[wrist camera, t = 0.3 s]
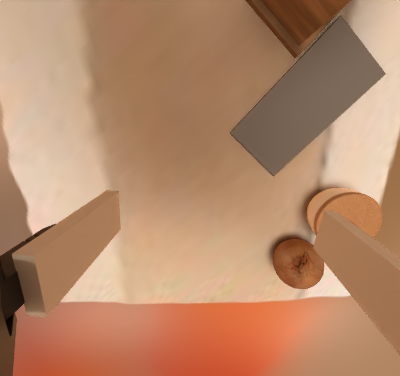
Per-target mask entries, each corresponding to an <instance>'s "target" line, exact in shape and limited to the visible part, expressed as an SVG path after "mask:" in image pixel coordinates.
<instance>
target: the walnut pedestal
mask: <svg viewBox="0 0 400 376" xmlns="http://www.w3.org/2000/svg"><path fill="white" fill-rule="evenodd" d="M246 1H247V2H248V3H249V4H250V6H251V7H252V8H253V9H254V10H255V12H256V13H257V14H258V15H259V16H260V17H261V19H262V20H263V21H264V22H265V23H266V24H267V26H268V27H269V28H270V29H271V30H272V31H273V33H274V34H275V35H276V36H277V37H278V39H279V40H280V41H281V42H282V43H283V44H284V46H285V47H286V48H287V49H288V50H289V51H290V53H291V54H292V55H293V56H294V57H295V58H296V57H297V56H298V55H299V54H300V53H301V52H302V51H303V50H304V49H305V48H306V47H307V46H308V45H309V44H310V42H311V41H312V40H313V39H314V38H315V37H316V36H317V35H318V34H319V33H320V32H321V31H322V30H323V29H324V27H325V26H326V25H327V24H328V23H329V22H330V21H331V20H332V19H333V18H334V17H335V16H336V15H337V14H338V13H339V11H340V10H341V9H342V8H343V7H344V6H345V5H346V4H347V3H349V2H350V1H351V0H246Z"/></svg>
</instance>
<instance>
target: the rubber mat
mask: <svg viewBox="0 0 400 376" xmlns="http://www.w3.org/2000/svg"><path fill="white" fill-rule="evenodd" d="M385 74H386V73H385V72H384V71H383V70H382V68H381V67H380V66H379V64H378V63H377V62H376V60H375V59H374V58H373V56H372V55H371V54H370V53H369V51H368V50H367V49H366V47H365V46H364V45H363V43H362V42H361V41H360V39H359V38H358V37H357V36H356V34H355V33H354V32H353V30H352V29H351V28H350V26H349V25H348V24H347V22H346V21H345V20H344V19H343V17H342V16H340V17H339V18H338V19H337V20H336V21H335V22H334V23H333V24H332V25H331V26H330V27H329V28H328V29H327V30H326V32H325V33H324V34H323V35H322V36H321V37H320V38H319V39H318V40H317V41H316V42H315V43H314V44H313V45H312V46H311V47H310V49H309V50H308V51H307V52H306V53H305V54H304V55H303V56H302V57H301V58H300V59H299V60H298V61H297V62H296V63H295V64H294V65H293V67H292V68H291V69H290V70H289V71H288V72H287V73H286V74H285V75H284V76H283V77H282V78H281V79H280V80H279V81H278V82H277V83H276V85H275V86H274V87H273V88H272V89H271V90H270V91H269V92H268V93H267V94H266V95H265V96H264V97H263V98H262V99H261V100H260V102H259V103H258V104H257V105H256V106H255V107H254V108H253V109H252V110H251V111H250V112H249V113H248V114H247V115H246V116H245V117H244V118H243V120H242V121H241V122H240V123H239V124H238V125H237V126H236V127H235V128H234V129H233V130H232V131H231V132H230V133H231V134H232V135H233V136H234V137H235V138H236V139H237V140H238V141H239V142H240V143H241V144H242V145H243V146H244V147H245V148H246V149H247V150H248V151H249V152H250V153H251V154H252V155H253V156H254V157H255V158H256V159H257V160H258V161H259V162H260V163H261V164H262V165H263V166H264V167H265V168H266V169H267V170H268V171H269V172H270V173H271V174H272V175H273V176H275V175H276V174H277V173H278V172H279V171H280V170H281V169H282V168H283V167H284V166H285V165H287V164H288V163H289V162H290V161H291V160H292V159H293V158H294V157H295V156H296V155H298V154H299V153H300V152H301V151H302V150H303V149H304V148H305V147H306V146H307V145H308V144H310V143H311V142H312V141H313V140H314V139H315V138H316V137H317V136H318V135H319V134H321V133H322V132H323V131H324V130H325V129H326V128H327V127H328V126H329V125H330V124H331V123H333V122H334V121H335V120H336V119H337V118H338V117H339V116H340V115H341V114H342V113H344V112H345V111H346V110H347V109H348V108H349V107H350V106H351V105H352V104H353V103H354V102H356V101H357V100H358V99H359V98H360V97H361V96H362V95H363V94H364V93H365V92H367V91H368V90H369V89H370V88H371V87H372V86H373V85H374V84H375V83H376V82H377V81H379V80H380V79H381V78H382V77H383V76H384V75H385Z"/></svg>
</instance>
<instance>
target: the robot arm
mask: <svg viewBox="0 0 400 376" xmlns="http://www.w3.org/2000/svg"><path fill="white" fill-rule="evenodd" d="M119 230H120V210H119V191H108V190H107V191H105V192H104V193H102V194H101V195H99V196H98V197H96V198H95V199H93V200H92V201H90V202H89V203H87V204H86V205H84V206H83V207H81V208H80V209H78V210H77V211H75V212H74V213H72V214H71V215H69V216H68V217H66V218H65V219H63V220H62V221H60V222H59V223H57V224H54V225H51V226H48V227H46V228H43V229H42V230H40V231H39V232H37V233H35V234H34V235H33V236H31V237H29V238H28V239H26V240H25V241H23V242H21V243H20V244H18V245H17V246H15V247H14V248H12V249H11V250H9V251H7V252H6V253H5V254H3V255H1V256H0V376H13V362H14V349H15V336H16V322H17V319H16V315H15V312H16V311H17V310H18V309H19V308H20V307H21V306H22V305H23V304H24V305H25V309H26V313H27V315H29V316H38V317H48V315H49V314H50V313H51V312H52V311H53V309H54V308H55V307H56V306H57V305H58V303H59V302H60V301H61V300H62V299H63V297H64V296H65V295H66V294H67V293H68V291H69V290H70V289H71V288H72V287H73V285H74V284H75V283H76V282H77V281H78V279H79V278H80V277H81V276H82V275H83V274H84V272H85V271H86V270H87V269H88V268H89V266H90V265H91V264H92V263H93V262H94V260H95V259H96V258H97V257H98V256H99V254H100V253H101V252H102V251H103V250H104V248H105V247H106V246H107V245H108V244H109V242H110V241H111V240H112V239H113V238H114V236H115V235H116V234H117V233H118V232H119ZM313 248H314V250H315V251H316V252H317V253H318V255H319V256H320V257H321V258H322V260H323V261H324V262H325V263H326V265H327V266H328V267H329V268H330V270H331V271H332V272H333V273H334V275H335V276H336V277H337V278H338V279H339V281H340V282H341V283H342V284H343V286H344V287H345V288H346V289H347V291H348V292H349V293H350V294H351V296H352V297H353V298H354V299H355V301H356V302H357V303H358V304H359V306H360V307H361V308H362V309H363V311H364V312H365V313H366V314H367V315H368V317H369V318H370V319H371V320H372V322H373V323H374V324H375V325H376V327H377V328H378V329H379V330H380V332H381V333H382V334H383V335H384V336H385V338H386V339H387V340H388V341H389V343H390V344H391V345H392V346H393V348H394V349H395V350H396V351H397V353H398V354H399V355H400V257H398V256H397V255H396V254H394V253H393V252H392V251H390V250H389V249H387V248H386V247H384V246H383V245H382V244H381V243H379V242H378V241H376V240H375V239H374V238H372V237H371V236H369V235H368V234H367V233H365V232H364V231H363V230H361V229H360V228H358V227H357V226H356V225H354V224H353V223H351V222H350V221H349V220H347V219H346V218H344V217H343V216H342V215H340V214H339V213H338V212H335V211H324V212H323V216H322V219H321V222H320V226H319V229H318V233H317V236H316V239H315V243H314V246H313Z"/></svg>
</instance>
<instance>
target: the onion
mask: <svg viewBox="0 0 400 376" xmlns="http://www.w3.org/2000/svg"><path fill="white" fill-rule="evenodd" d="M273 264H274V268H275V271H276V273H277V275H278V276H279V278H280V279H281V280H282V281H283V282H284V283H285V284H287V285H289V286H291V287H293V288H298V289H308V288H310V287H312V286H314V285H316V284H317V283H318V282H319V281H320V279H321V278H322V276H323V272H324V262H323V260H322V258H321V257H320V256H319V255H318V253H317V252H316V251H315V250H314V248H313V245H312V244H310V243H309V242H307V241H304V240H301V239H289V240H286V241H284V242H282V243H281V244H279V245H278V246H277V248H276V250H275V252H274V256H273Z"/></svg>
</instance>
